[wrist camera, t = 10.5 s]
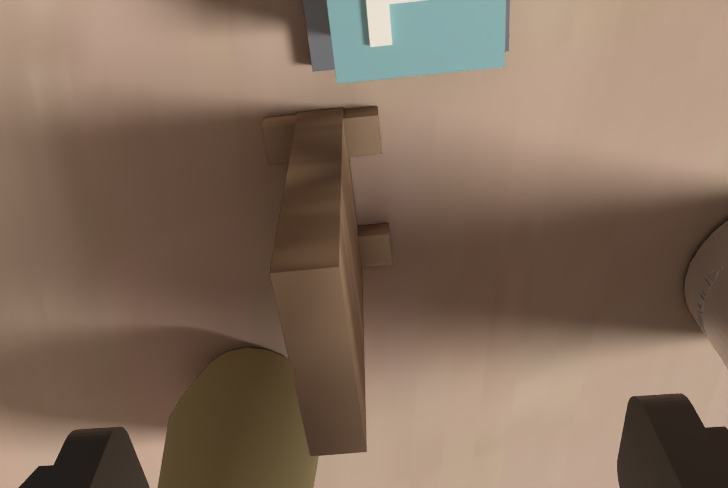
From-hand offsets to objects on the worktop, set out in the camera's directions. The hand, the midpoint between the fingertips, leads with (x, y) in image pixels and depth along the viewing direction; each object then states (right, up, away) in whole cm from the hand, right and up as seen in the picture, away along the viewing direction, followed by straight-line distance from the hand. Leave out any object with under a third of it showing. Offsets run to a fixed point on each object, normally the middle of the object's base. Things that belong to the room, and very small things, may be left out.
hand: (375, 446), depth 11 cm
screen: (-2, +6, +21) cm, 21 cm away
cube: (+1, +14, +14) cm, 20 cm away
